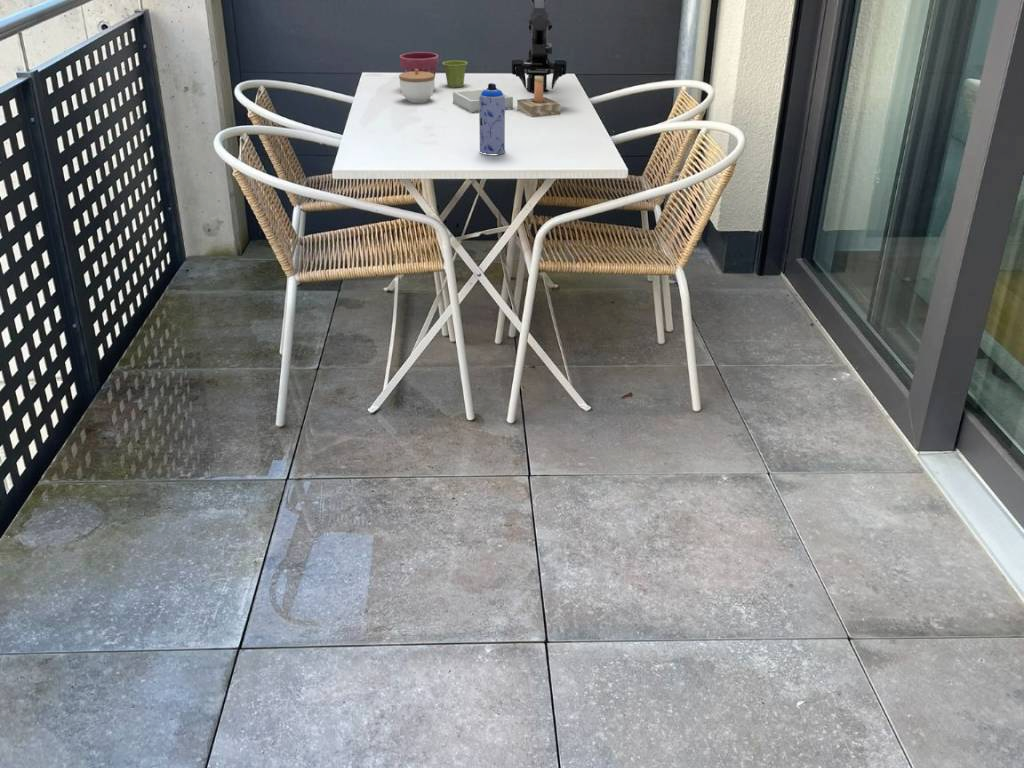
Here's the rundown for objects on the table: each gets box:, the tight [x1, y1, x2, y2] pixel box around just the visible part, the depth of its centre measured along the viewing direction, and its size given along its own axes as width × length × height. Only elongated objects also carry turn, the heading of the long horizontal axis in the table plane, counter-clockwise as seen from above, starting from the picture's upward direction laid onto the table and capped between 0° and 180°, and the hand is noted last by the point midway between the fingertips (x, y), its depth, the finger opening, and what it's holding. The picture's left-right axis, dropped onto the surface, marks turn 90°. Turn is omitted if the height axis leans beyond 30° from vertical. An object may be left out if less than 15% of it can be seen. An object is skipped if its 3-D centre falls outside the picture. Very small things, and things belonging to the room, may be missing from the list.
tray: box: [452, 88, 514, 113], centre depth 356 cm, size 16×16×4 cm
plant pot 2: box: [442, 60, 468, 88], centre depth 384 cm, size 9×9×9 cm
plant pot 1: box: [399, 51, 440, 80], centre depth 376 cm, size 14×14×13 cm
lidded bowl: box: [398, 69, 436, 104], centre depth 361 cm, size 13×13×11 cm
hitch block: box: [516, 96, 561, 118], centre depth 349 cm, size 11×11×4 cm
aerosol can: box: [478, 83, 506, 155], centre depth 298 cm, size 8×8×20 cm
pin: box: [533, 76, 544, 103], centre depth 347 cm, size 3×3×12 cm
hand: (538, 88), depth 346 cm, fingers open, 9 cm apart
